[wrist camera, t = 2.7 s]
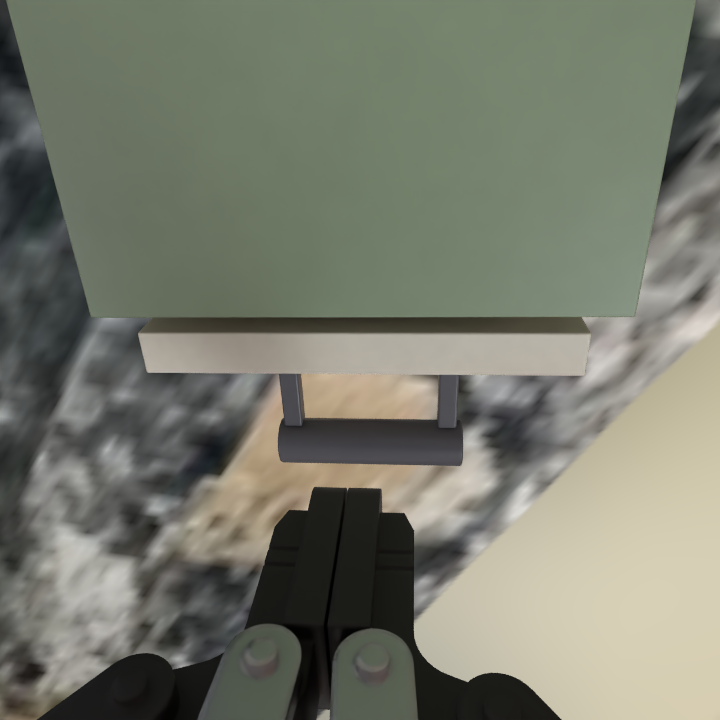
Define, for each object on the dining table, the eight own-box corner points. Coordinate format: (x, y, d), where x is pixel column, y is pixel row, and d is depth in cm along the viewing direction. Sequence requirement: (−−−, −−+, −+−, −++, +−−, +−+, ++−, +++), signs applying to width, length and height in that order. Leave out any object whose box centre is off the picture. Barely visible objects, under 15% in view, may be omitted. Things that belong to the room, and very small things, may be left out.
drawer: (520, 388, 24) (561, 525, 17) (243, 385, 25) (179, 514, 18) (582, -224, 16) (714, -432, 9) (158, -190, 17) (-23, -353, 10)
